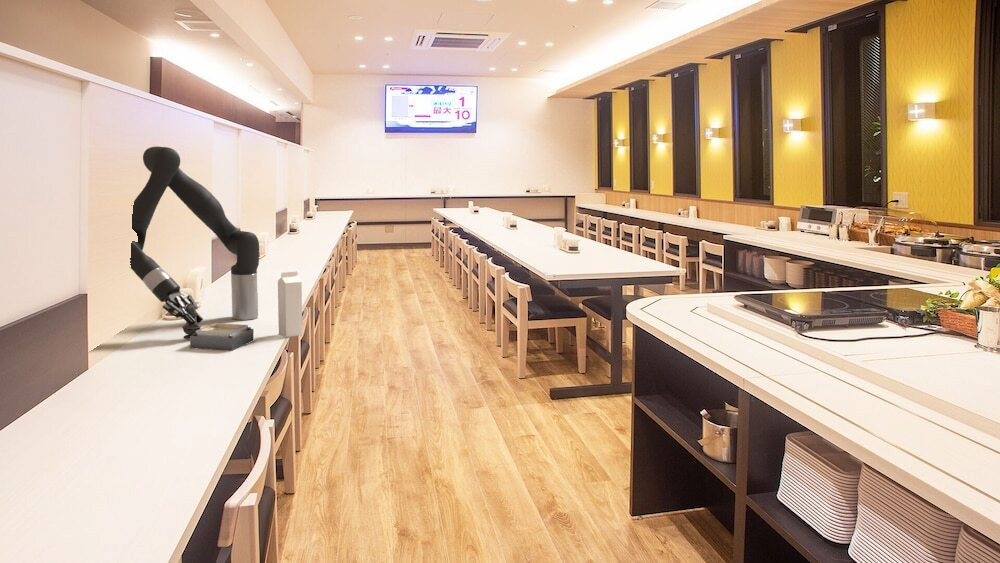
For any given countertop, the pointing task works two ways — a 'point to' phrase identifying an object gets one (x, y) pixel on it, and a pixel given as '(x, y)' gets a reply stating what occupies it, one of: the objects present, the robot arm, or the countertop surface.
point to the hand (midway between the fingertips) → (197, 322)
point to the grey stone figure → (187, 328)
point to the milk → (290, 304)
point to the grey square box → (221, 337)
